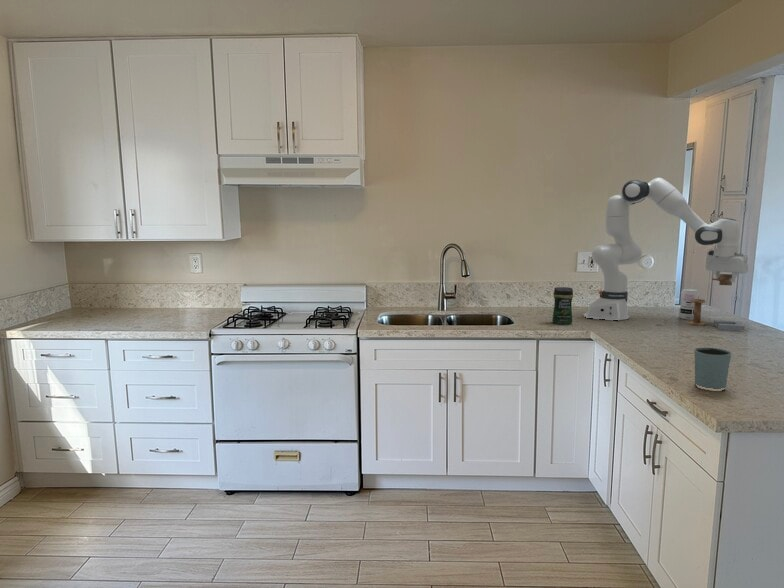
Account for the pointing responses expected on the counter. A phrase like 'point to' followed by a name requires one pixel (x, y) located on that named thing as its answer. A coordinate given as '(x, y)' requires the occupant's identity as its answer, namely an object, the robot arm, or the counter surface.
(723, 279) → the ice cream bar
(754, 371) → the counter surface
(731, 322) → the notch board
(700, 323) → the bobbin
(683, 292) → the supplement can
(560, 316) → the coffee jar
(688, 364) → the counter surface
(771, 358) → the counter surface
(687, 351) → the counter surface
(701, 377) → the teal cup
